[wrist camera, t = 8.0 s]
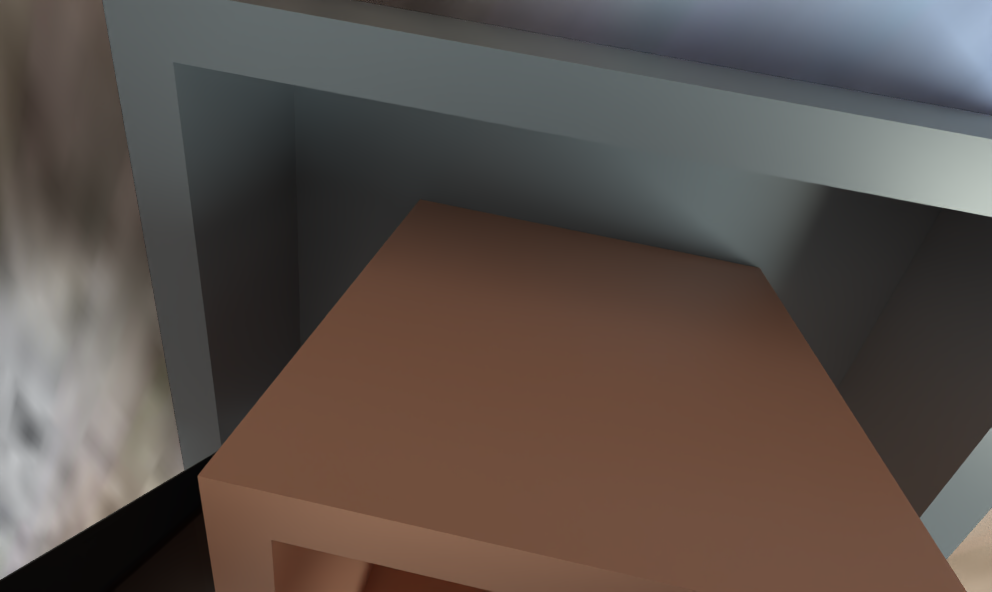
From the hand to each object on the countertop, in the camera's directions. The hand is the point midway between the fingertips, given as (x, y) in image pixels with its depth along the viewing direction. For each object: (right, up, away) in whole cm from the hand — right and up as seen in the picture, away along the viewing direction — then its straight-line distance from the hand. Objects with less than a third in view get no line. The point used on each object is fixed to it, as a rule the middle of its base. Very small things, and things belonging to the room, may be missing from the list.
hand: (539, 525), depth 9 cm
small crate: (+1, +2, +3) cm, 4 cm away
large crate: (+1, +2, +4) cm, 5 cm away
